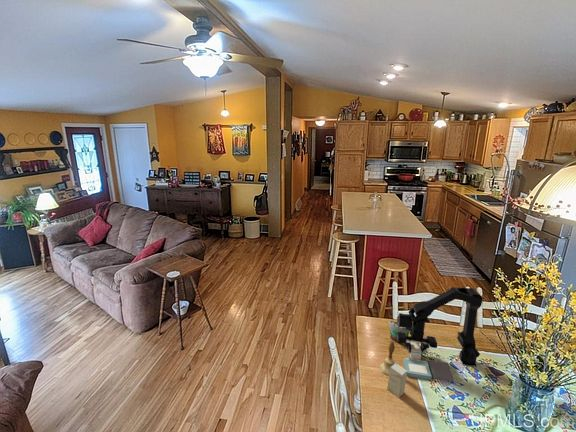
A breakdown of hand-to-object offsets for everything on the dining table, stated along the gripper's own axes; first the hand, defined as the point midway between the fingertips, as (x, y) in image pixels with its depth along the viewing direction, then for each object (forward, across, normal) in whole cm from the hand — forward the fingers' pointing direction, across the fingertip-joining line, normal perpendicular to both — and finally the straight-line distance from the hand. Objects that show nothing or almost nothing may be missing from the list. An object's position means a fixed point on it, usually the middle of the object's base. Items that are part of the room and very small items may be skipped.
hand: (414, 353), depth 160 cm
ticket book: (+1, +1, +10) cm, 11 cm away
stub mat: (+1, -11, +8) cm, 14 cm away
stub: (+1, 0, 0) cm, 1 cm away
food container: (+2, +7, -11) cm, 13 cm away
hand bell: (+2, +14, +13) cm, 19 cm away
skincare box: (+2, +12, +26) cm, 29 cm away
